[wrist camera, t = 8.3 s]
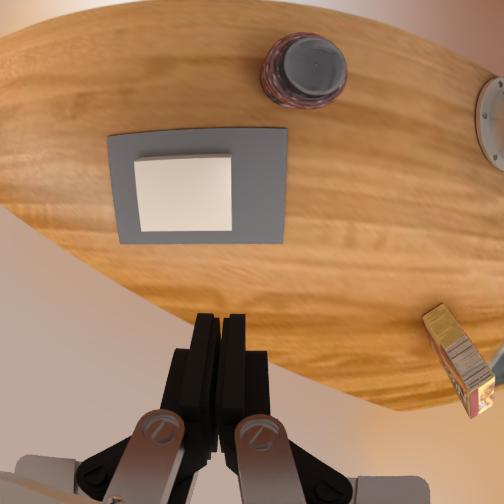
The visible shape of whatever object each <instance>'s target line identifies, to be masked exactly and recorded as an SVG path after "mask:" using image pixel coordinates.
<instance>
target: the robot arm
mask: <svg viewBox="0 0 504 504" xmlns="http://www.w3.org/2000/svg"><path fill="white" fill-rule="evenodd" d="M476 128H477V135H478V139H479V142H480V145H481V148H482V150H483V153H484V154H485V156H486V158H487V159H488V161H489V162H490V163H491V164H492V165H493V166H495V167H496V168H497V169H500V170H502V171H504V77H496V78H493V79H491V80H490V81H489V82H488V83H486V84H485V86H484V88H483V89H482V91H481V93H480V96H479V99H478V103H477V109H476ZM218 434H219V440H220V446H221V452H222V453H225V459H226V466H227V467H228V468H229V469H231V470H232V471H233V472H234V473H235V474H237V476H238V483H239V488H240V494H241V500H242V504H430V489H429V486H428V484H427V482H426V481H425V480H424V479H422V478H421V477H418V476H386V477H385V476H375V477H374V476H358V477H357V478H346V477H345V476H344V475H342V474H341V473H339V472H337V471H336V470H334V469H332V468H331V467H329V466H328V465H326V464H324V463H323V462H321V461H320V460H318V459H317V458H315V457H314V456H312V455H311V454H309V453H308V452H306V451H305V450H303V449H302V448H300V447H299V446H297V445H296V444H295V443H293V442H292V441H290V440H289V439H288V437H287V433H286V430H285V428H284V426H283V424H282V423H281V422H280V421H279V420H278V419H276V418H274V417H272V416H271V415H270V397H269V377H268V359H267V351H246V348H245V314H230V318H224V320H223V329H222V338H221V333H220V319H219V318H214V314H212V313H198V314H197V318H196V322H195V327H194V331H193V336H192V341H191V345H190V349H179V348H176V349H175V352H174V355H173V358H172V362H171V366H170V370H169V374H168V378H167V382H166V386H165V390H164V394H163V398H162V402H161V407H160V409H158V410H153V411H150V412H148V413H146V414H145V415H143V416H142V417H141V418H140V420H139V421H138V423H137V425H136V427H135V430H134V432H133V434H132V435H131V436H130V437H128V438H126V439H124V440H122V441H121V442H119V443H117V444H115V445H113V446H111V447H109V448H107V449H105V450H104V451H102V452H100V453H98V454H96V455H94V456H92V457H90V458H88V459H87V460H85V461H83V462H79V461H76V460H75V459H66V458H55V457H45V456H38V455H25V456H23V457H21V458H20V459H19V460H18V461H17V464H16V468H15V473H10V472H2V471H0V504H190V500H191V497H192V493H193V490H194V487H195V483H196V480H197V476H198V470H200V469H201V468H203V467H204V466H206V465H207V460H210V459H211V452H217V446H218Z"/></svg>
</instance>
